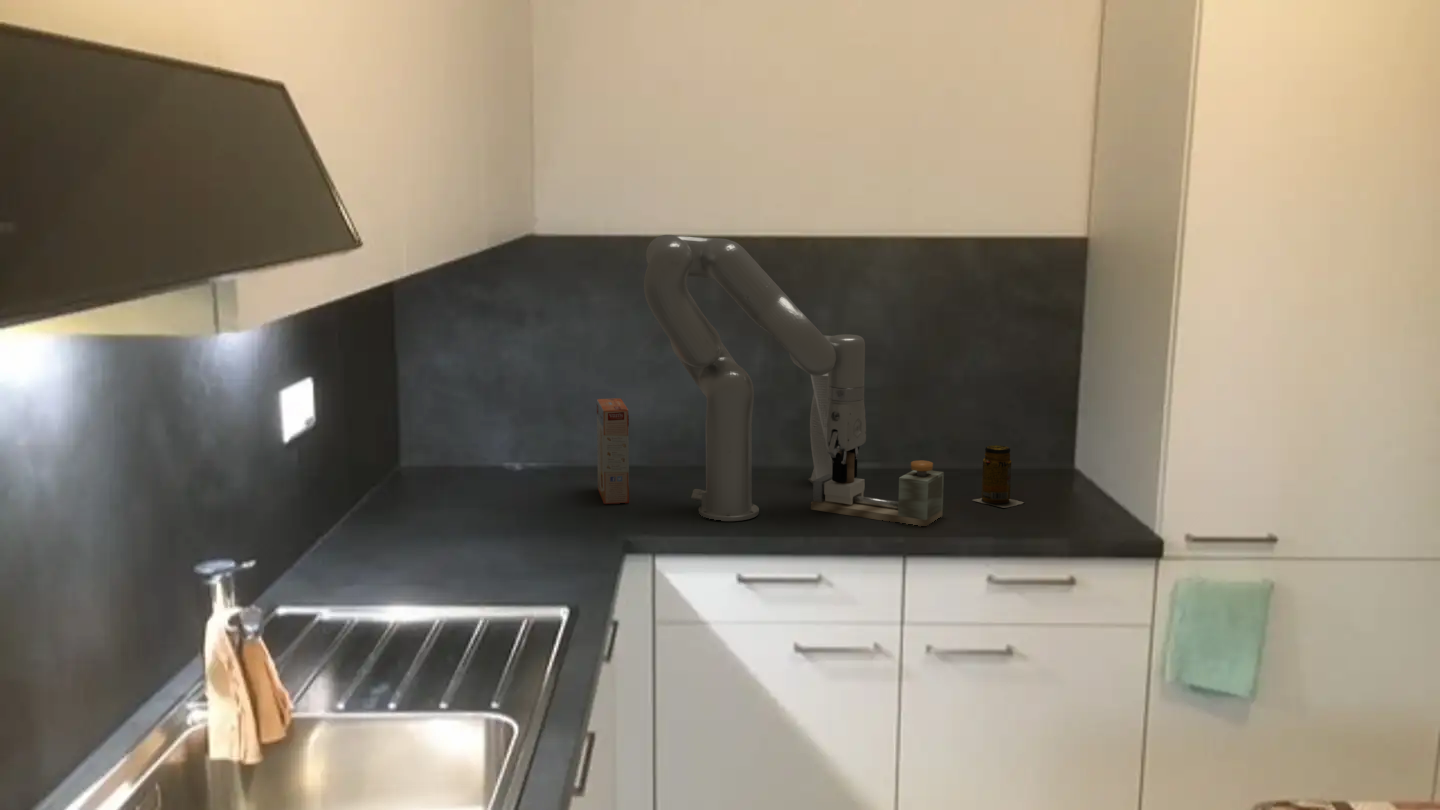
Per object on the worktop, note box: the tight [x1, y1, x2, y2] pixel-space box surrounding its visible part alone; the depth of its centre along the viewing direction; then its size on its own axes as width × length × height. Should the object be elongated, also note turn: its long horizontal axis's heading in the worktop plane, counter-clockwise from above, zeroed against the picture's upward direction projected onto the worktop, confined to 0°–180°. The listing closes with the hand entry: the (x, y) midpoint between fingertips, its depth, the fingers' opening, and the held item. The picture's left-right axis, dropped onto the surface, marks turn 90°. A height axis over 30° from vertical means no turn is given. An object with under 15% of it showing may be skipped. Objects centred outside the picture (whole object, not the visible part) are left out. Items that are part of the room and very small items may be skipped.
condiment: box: [972, 444, 1025, 508], centre depth 274 cm, size 7×8×12 cm
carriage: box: [824, 451, 866, 505], centre depth 269 cm, size 6×7×10 cm
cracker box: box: [596, 397, 630, 505], centre depth 279 cm, size 14×6×21 cm, turn 11°
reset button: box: [910, 459, 934, 477], centre depth 260 cm, size 4×4×3 cm
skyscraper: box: [807, 373, 840, 484], centre depth 288 cm, size 8×8×28 cm
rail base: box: [810, 470, 945, 527], centre depth 266 cm, size 26×9×10 cm, turn 58°
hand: (844, 478), depth 269 cm, fingers closed on carriage, 4 cm apart
